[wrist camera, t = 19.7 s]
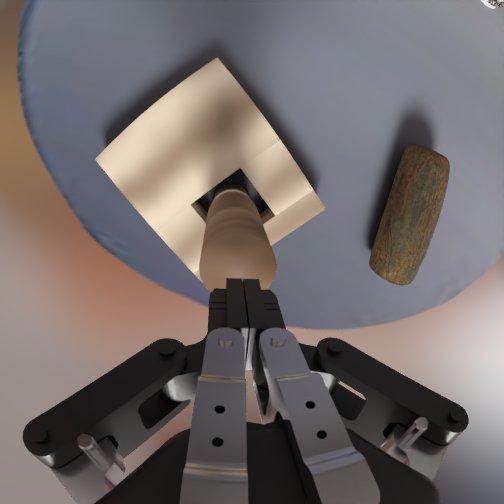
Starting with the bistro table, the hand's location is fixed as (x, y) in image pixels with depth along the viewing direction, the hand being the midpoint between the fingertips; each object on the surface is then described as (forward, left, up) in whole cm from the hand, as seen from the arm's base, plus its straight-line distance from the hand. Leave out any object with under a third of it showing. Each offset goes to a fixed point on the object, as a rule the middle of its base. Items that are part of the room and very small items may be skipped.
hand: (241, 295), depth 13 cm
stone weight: (+12, +16, -17) cm, 26 cm away
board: (-4, 0, -16) cm, 17 cm away
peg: (0, 0, -16) cm, 16 cm away
